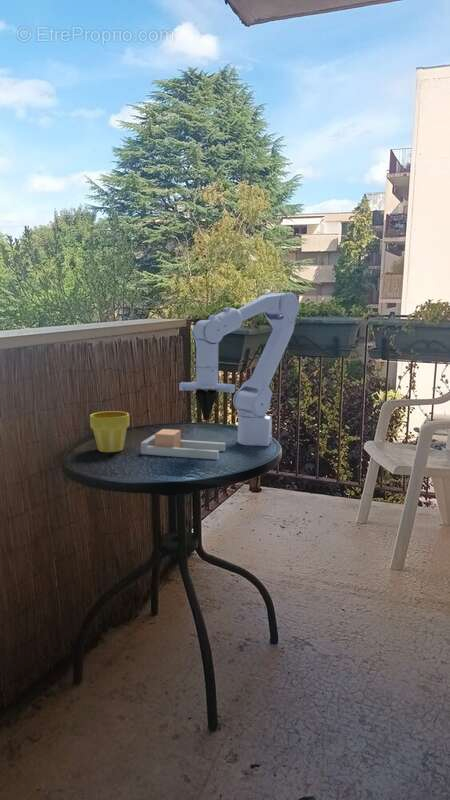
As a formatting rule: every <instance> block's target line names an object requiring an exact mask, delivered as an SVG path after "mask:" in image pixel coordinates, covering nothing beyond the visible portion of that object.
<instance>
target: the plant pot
mask: <svg viewBox="0 0 450 800" xmlns="http://www.w3.org/2000/svg"><path fill="white" fill-rule="evenodd" d="M89 426H90V429H92V431H93V434H94V438H95V442H96V443H95V444H96V445H97V447H96V448H97V449H98V451H99V452H101V453H117V452H121V451H123V450H124V448H125V447H124V446H125V440H126V437H127V436H126V435H127V430H128V427H129V426H130V413H128V412H126V411H121V410H120V411H119V410H118V411H117V410H110V411H109V410H108V411H107V410H106V411H98V412H93V413H91V414H89Z"/></svg>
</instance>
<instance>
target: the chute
mask: <svg viewBox="0 0 450 800" xmlns="http://www.w3.org/2000/svg"><path fill="white" fill-rule="evenodd" d="M226 447H227V443H226V442H219V441H218V442H217V441H205V440H187V439H181V448H177V447H162V446H155V434H153V435H151V436H149V437H147V438H145V440H142V442H140V454H141V455H149V456H150V455H151V456H152V455H153V456H163V457H176V458H191V459H204V460H205V459H207V460H219V458H220V452H226V450H227V449H226Z"/></svg>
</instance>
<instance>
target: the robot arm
mask: <svg viewBox="0 0 450 800" xmlns="http://www.w3.org/2000/svg"><path fill="white" fill-rule="evenodd" d="M300 309H301V306H300V303H299V299H298V297H297V295H296V294H295V293H294V292H290V291H288V292H279V293H278V292H276V293H275V292H274V293H273V292H266V293H264V294H263V295H262V294H261V295H259V296H258V297H257V298H255V299H253V300H252V301H249V302H248V303H246V304H245V305H243V306H241V307H240V308H238V309H236V308H234V307H228V306H227V307H223V309H222V311H221V312H219V313H217V314H210V315H209V316H208V318H207V319H200V320H198V321H197V322H196V323H195V325H194V326H193V329H192V330H191V337H192V338H193V340H194V342H195V347H196V348H195V349H196V351H195V360H196V361H195V373H196V376H195V377H196V378H195V381H194V382H193V381H188V382H187V381H186V382H185V381H181V382H180V383H179V382H178V386H179V387H178V391H190V392H191V391H194V392H195V391H196V392H195V393H194V395H195V397H196V400H197V401H198V403H199V406H200V410H201V412H202V417H203V418H202V419H203V420H209V419H211V415H212V409H213V407H214V404H215V402H216V399H217V398H218V396H219V393H231V394H234V393H235V394H234V395H233V399H232V402H233V407H234V408H235V409H236V413H237V414H238V415H237V416H238V417H237V420H238V421H237V443H238V444H240V445H244V446H262V447H269V446H270V444H271V443H272V442H273V441H272V439H273V436H272V432H273V431H272V430H273V429H272V427H273V426H272V424H273V420H272V415H266V414H267V413H268V412H269V411H270V410H269V409H270V407H271V400H272V396H273V391H272V390H271V388H270V385H271V382H272V379H273V377H274V375H275V373H276V371H277V369H278V366H279V364H280V362H281V360H282V358H283V355H284V353H285V351H286V348H287V347H288V344H289V342H290V340H291V337H292V335H293V333H294V331H295V324H296V318H297V316H298V314H299V311H300ZM261 313H263V315H264V316H265V318H266V319H267V321H268V323H269V324H270V326H271V328H272V331H271V333H270V335H269V337H268V340H267V342H266V344H265V346H264V349H263V350H262V353H261V355H260V356H259V360H258V362H257V364H256V366H255V368H254V370H253V372H252V375H251V377H250V378H248V379H247V380H245V382H243V383H242V384H241V387H240V388H239V389H238V390H237V391H236V384H234V383H233V384H229V383H222V382H221V383H219V343H220V342H221V341H222V340H223V338H224V336H226V335H228V334H230V333H232V332H234V331H236V330H238V329H240V328H241V327H242V324H243V322H244V321H246V320H248V319H251V318H252V317H254V316H255V317H256V316H257V315H259V314H261Z"/></svg>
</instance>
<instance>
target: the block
mask: <svg viewBox="0 0 450 800" xmlns="http://www.w3.org/2000/svg"><path fill="white" fill-rule="evenodd" d="M181 433H182V430H180V429H169V428H162V429H160V430H159V431H157V432H156V433H155V434H154V435H155V446H162V447H177V448H181V440H182V437H181V436H182V434H181Z"/></svg>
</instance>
